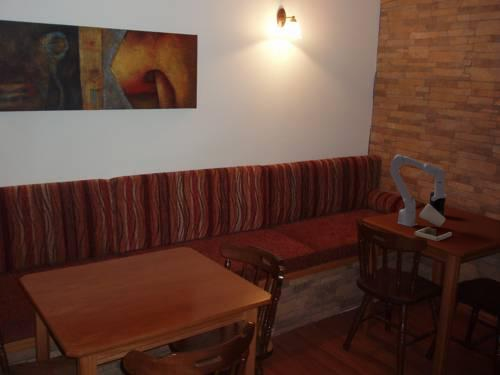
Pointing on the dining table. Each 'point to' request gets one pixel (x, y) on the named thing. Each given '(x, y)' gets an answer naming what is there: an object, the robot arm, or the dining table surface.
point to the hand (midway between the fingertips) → (438, 210)
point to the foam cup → (432, 215)
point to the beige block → (430, 231)
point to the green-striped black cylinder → (435, 205)
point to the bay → (422, 231)
